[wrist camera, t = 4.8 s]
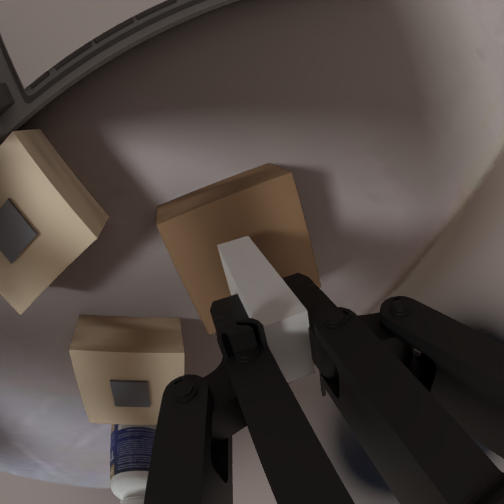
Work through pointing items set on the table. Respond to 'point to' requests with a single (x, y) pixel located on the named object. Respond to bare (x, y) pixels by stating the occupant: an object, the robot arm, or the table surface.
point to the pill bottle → (130, 461)
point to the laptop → (72, 44)
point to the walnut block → (235, 231)
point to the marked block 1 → (40, 217)
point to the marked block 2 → (125, 366)
